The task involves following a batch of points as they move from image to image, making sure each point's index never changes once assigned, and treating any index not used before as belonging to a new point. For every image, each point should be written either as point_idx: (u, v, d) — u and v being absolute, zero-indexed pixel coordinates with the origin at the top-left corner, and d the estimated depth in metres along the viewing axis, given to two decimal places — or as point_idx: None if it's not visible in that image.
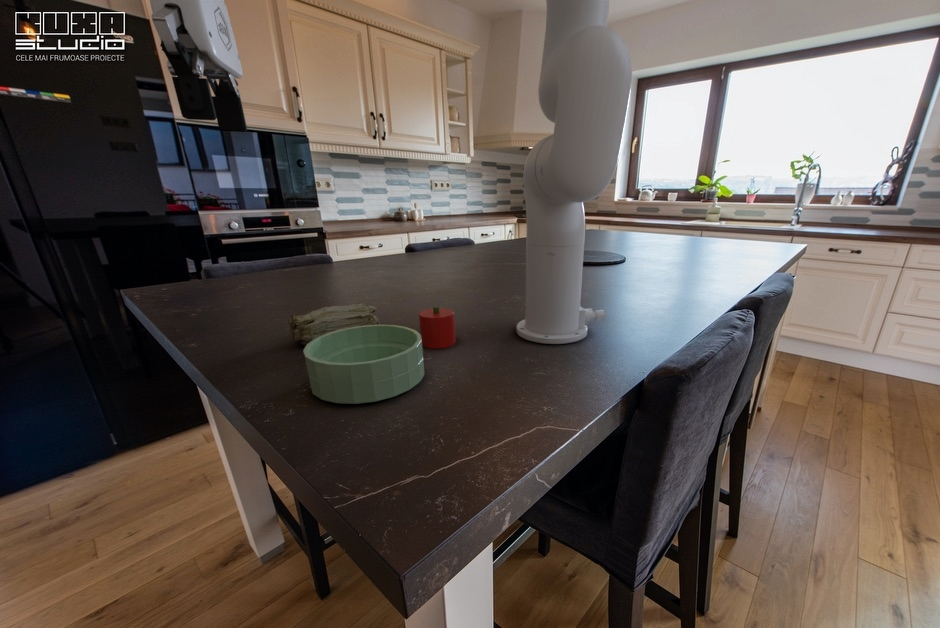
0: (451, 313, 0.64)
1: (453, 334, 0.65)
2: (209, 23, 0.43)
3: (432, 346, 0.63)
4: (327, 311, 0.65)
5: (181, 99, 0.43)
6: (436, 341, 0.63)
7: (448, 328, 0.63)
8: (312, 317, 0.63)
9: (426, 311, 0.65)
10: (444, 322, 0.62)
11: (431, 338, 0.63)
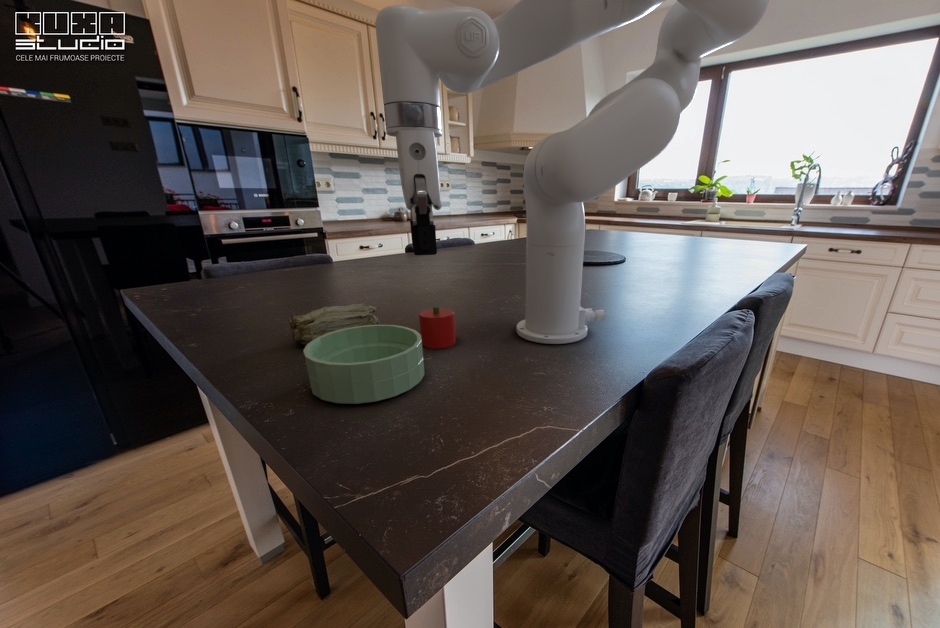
0: (451, 313, 0.64)
1: (453, 334, 0.65)
2: (439, 182, 0.54)
3: (432, 346, 0.63)
4: (327, 311, 0.65)
5: (415, 241, 0.55)
6: (436, 341, 0.63)
7: (448, 328, 0.63)
8: (312, 317, 0.63)
9: (426, 311, 0.65)
10: (444, 322, 0.62)
11: (431, 338, 0.63)
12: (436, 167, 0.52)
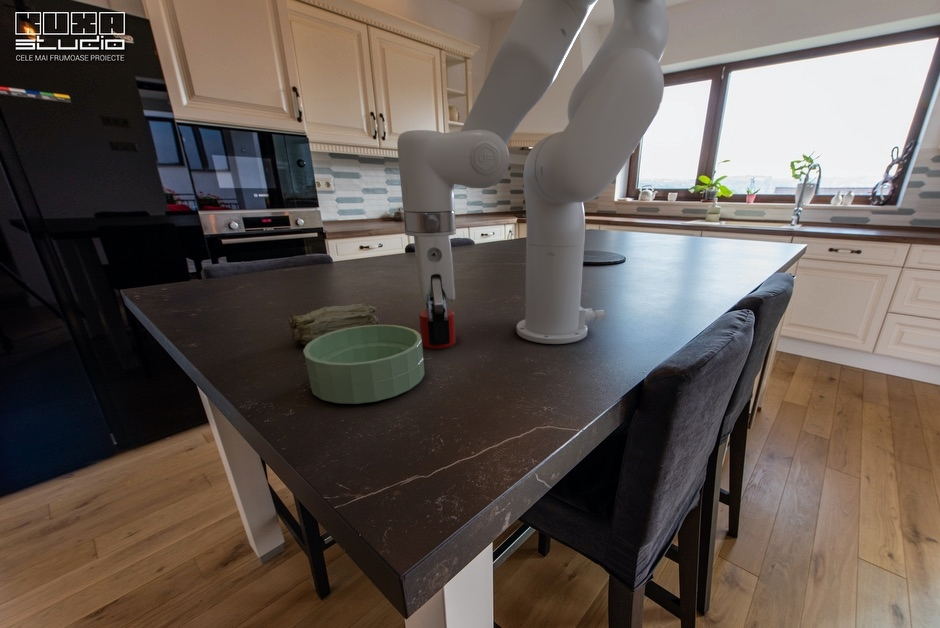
0: (451, 313, 0.64)
1: (453, 334, 0.65)
2: None
3: (432, 346, 0.63)
4: (327, 311, 0.65)
5: (431, 334, 0.61)
6: None
7: None
8: (312, 317, 0.63)
9: (426, 311, 0.65)
10: None
11: None
12: (451, 267, 0.57)
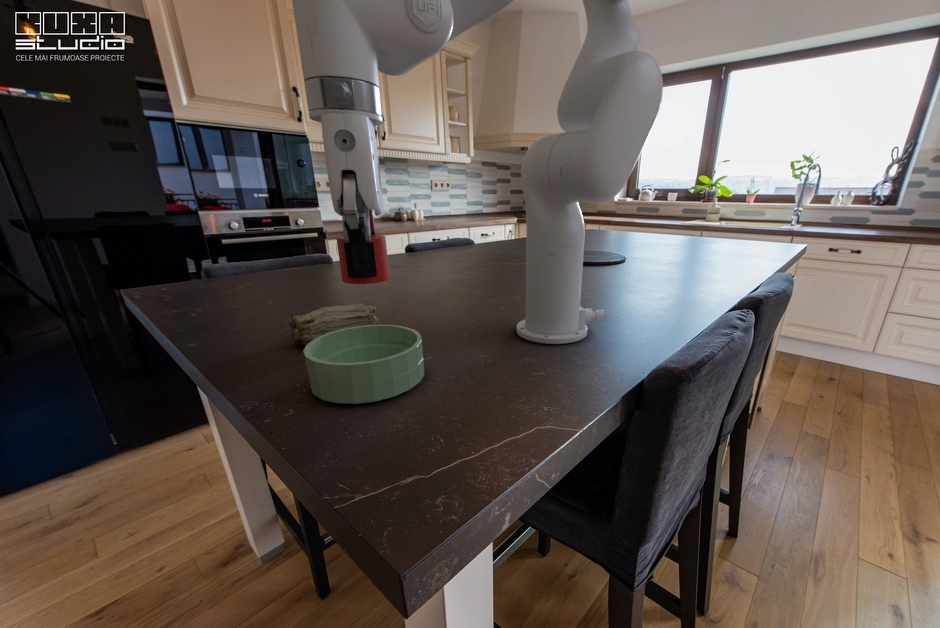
0: (380, 237, 0.47)
1: (384, 267, 0.48)
2: (377, 181, 0.43)
3: (353, 281, 0.47)
4: (327, 311, 0.65)
5: (349, 261, 0.45)
6: None
7: (375, 256, 0.47)
8: (312, 317, 0.63)
9: None
10: None
11: None
12: (370, 161, 0.41)
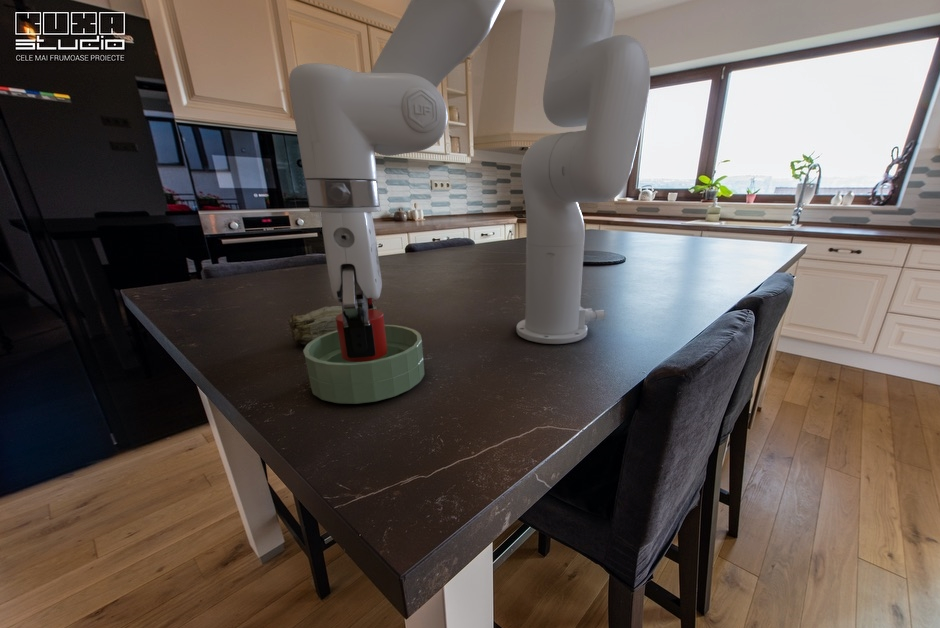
0: (378, 316, 0.49)
1: (382, 343, 0.50)
2: (375, 270, 0.45)
3: (352, 359, 0.49)
4: (327, 311, 0.65)
5: (348, 343, 0.47)
6: None
7: None
8: (312, 317, 0.63)
9: None
10: None
11: None
12: (369, 255, 0.43)
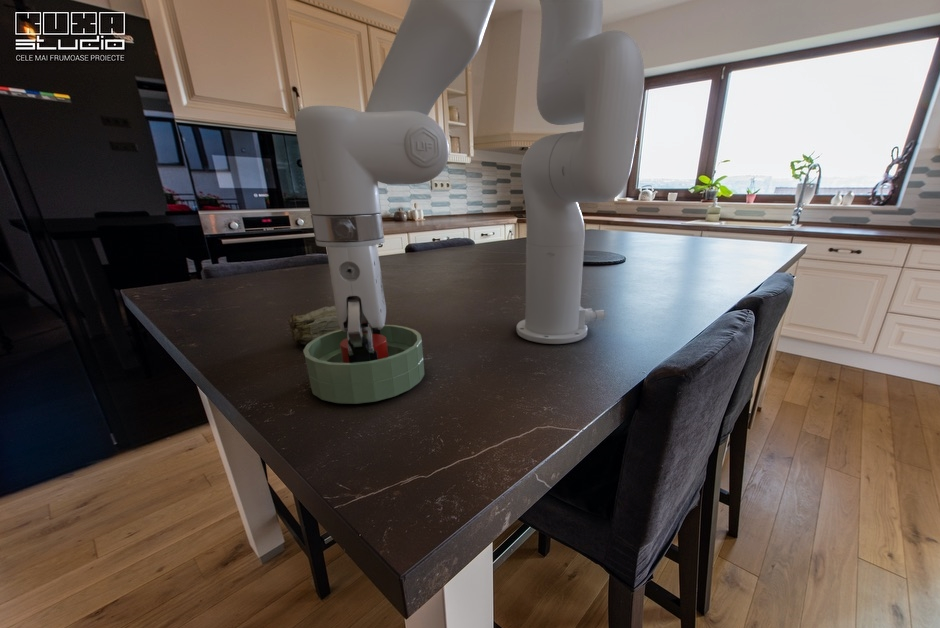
0: (381, 341, 0.50)
1: None
2: (380, 300, 0.46)
3: None
4: (327, 311, 0.65)
5: None
6: None
7: None
8: (312, 317, 0.63)
9: None
10: None
11: None
12: (374, 286, 0.44)
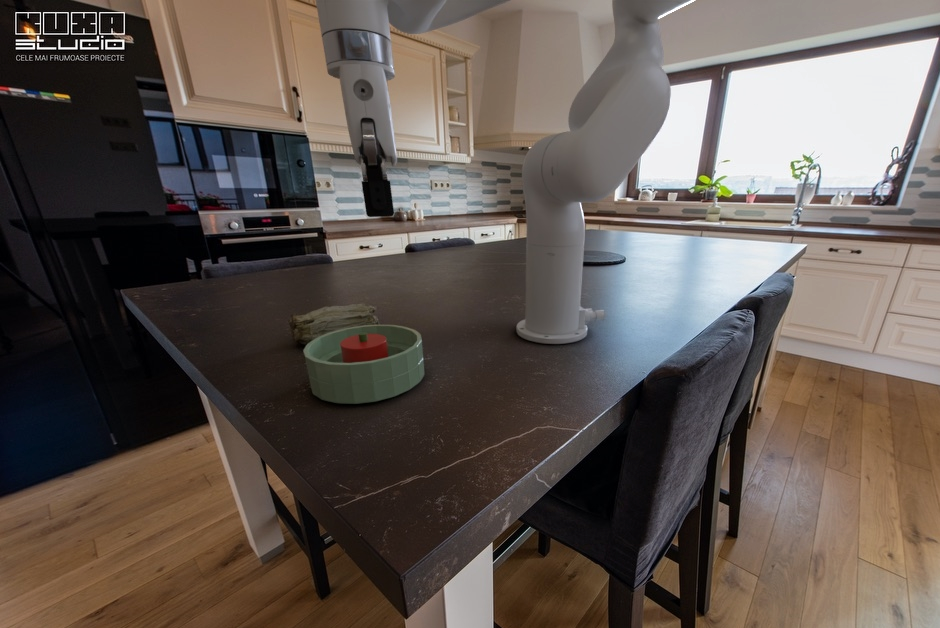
0: (381, 341, 0.50)
1: None
2: (393, 130, 0.46)
3: None
4: (327, 311, 0.65)
5: (367, 200, 0.47)
6: None
7: None
8: (312, 317, 0.63)
9: (351, 338, 0.51)
10: (370, 354, 0.49)
11: None
12: (387, 110, 0.45)
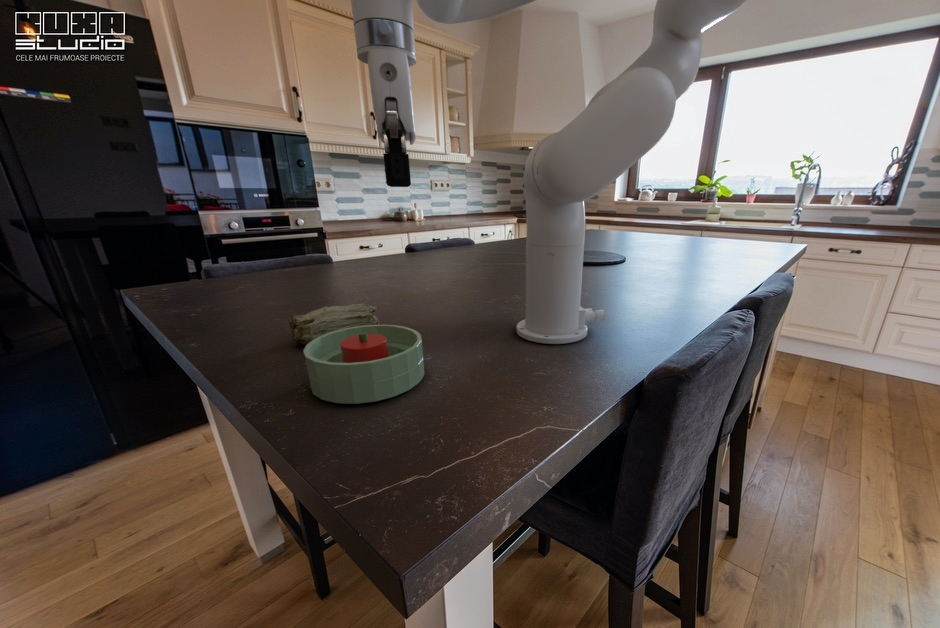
0: (381, 341, 0.50)
1: None
2: None
3: None
4: (327, 311, 0.65)
5: (388, 171, 0.53)
6: None
7: None
8: (312, 317, 0.63)
9: (351, 338, 0.51)
10: (370, 354, 0.49)
11: None
12: (408, 90, 0.50)
